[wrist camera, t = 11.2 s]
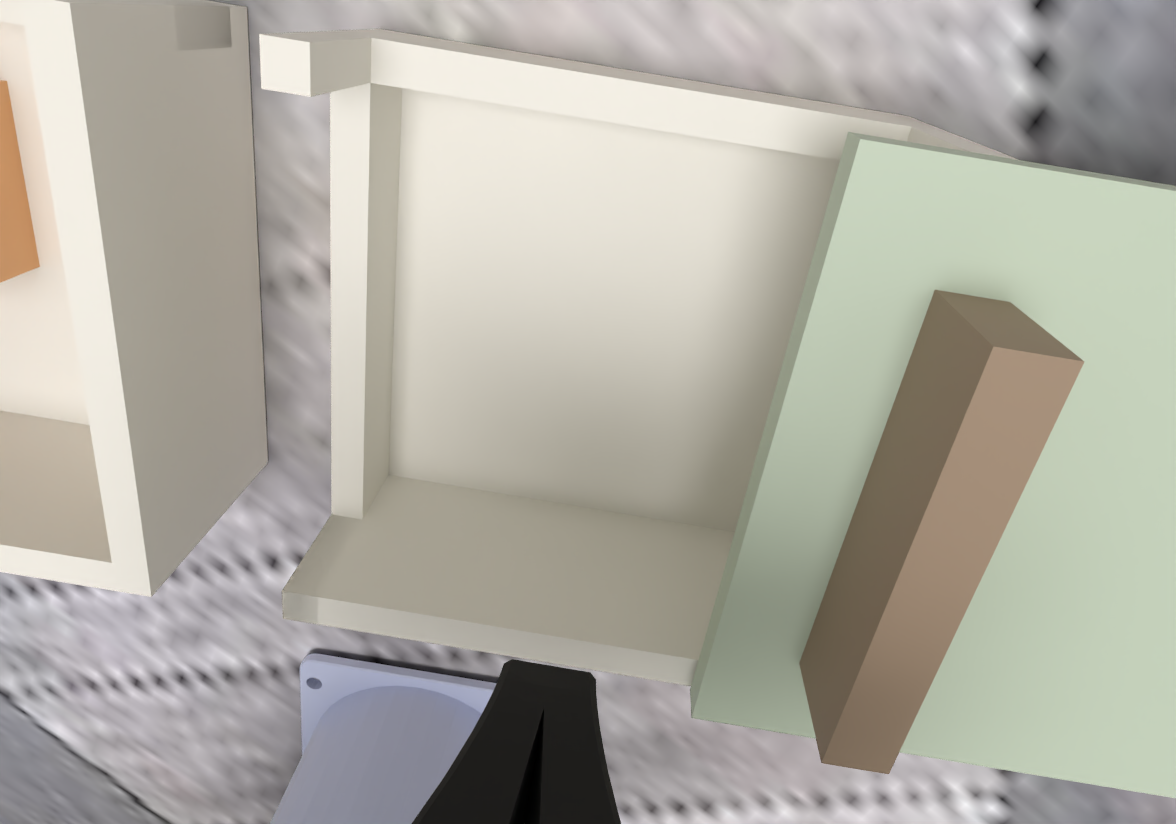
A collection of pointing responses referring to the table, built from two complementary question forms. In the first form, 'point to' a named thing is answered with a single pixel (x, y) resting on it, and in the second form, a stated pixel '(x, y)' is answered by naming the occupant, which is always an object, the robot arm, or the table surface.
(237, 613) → the table surface
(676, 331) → the crate
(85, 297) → the crate
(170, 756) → the table surface
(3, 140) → the block
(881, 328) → the lid
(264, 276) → the table surface
